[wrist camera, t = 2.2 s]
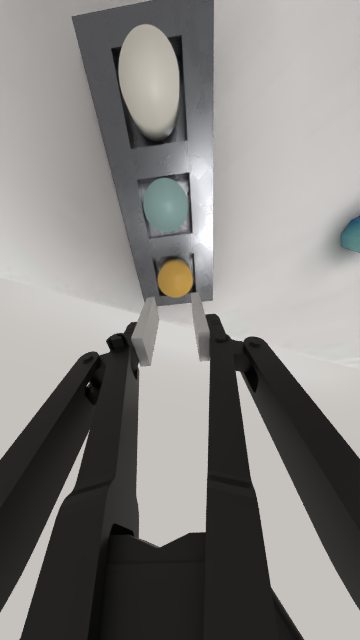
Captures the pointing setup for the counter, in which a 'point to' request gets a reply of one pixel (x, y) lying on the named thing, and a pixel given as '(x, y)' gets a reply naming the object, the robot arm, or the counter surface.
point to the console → (168, 154)
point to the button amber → (175, 278)
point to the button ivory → (150, 81)
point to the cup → (352, 236)
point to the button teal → (165, 205)
